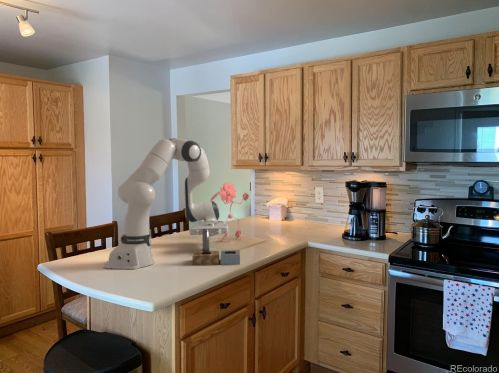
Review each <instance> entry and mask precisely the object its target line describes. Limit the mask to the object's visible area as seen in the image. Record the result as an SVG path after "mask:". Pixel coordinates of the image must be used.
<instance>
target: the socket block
mask: <svg viewBox="0 0 499 373" xmlns="http://www.w3.org/2000/svg"><path fill="white" fill-rule="evenodd" d="M220 265H221V266H222V265H223V266H224V265H227V266H228V265H241V251H240V250H239V249H230V250H229V249H227V250H224V249H223V250H220Z"/></svg>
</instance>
